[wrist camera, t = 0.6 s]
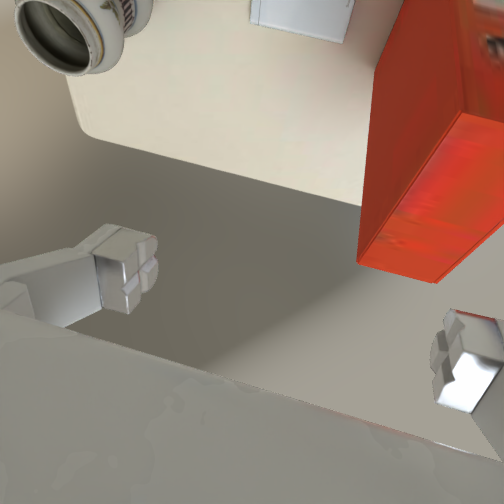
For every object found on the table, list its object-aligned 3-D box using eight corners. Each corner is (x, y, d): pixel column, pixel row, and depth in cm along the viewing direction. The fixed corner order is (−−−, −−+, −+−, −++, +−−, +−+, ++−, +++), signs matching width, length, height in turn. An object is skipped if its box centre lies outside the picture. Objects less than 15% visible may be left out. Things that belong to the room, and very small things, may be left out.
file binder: (519, -67, 40) (593, 146, 23) (432, 85, 54) (436, 285, 37) (440, -87, 40) (454, 110, 23) (374, 70, 55) (352, 262, 37)
